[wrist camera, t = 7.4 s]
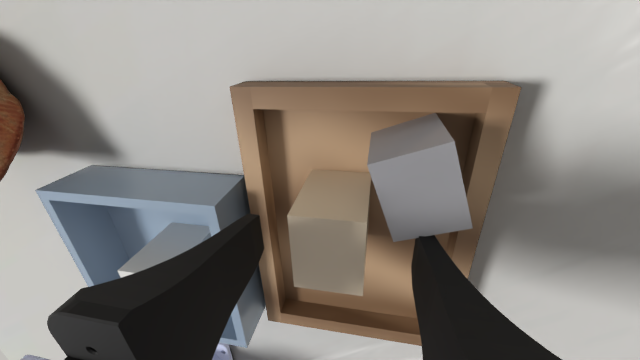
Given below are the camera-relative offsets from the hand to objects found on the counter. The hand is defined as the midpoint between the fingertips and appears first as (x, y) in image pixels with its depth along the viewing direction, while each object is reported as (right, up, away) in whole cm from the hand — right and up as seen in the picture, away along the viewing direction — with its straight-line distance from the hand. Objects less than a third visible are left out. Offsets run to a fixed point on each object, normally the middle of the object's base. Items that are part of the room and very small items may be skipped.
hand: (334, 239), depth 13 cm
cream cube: (+1, +1, +3) cm, 3 cm away
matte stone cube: (+4, +4, +1) cm, 6 cm away
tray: (+2, 0, +4) cm, 4 cm away
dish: (-11, -2, +8) cm, 13 cm away
